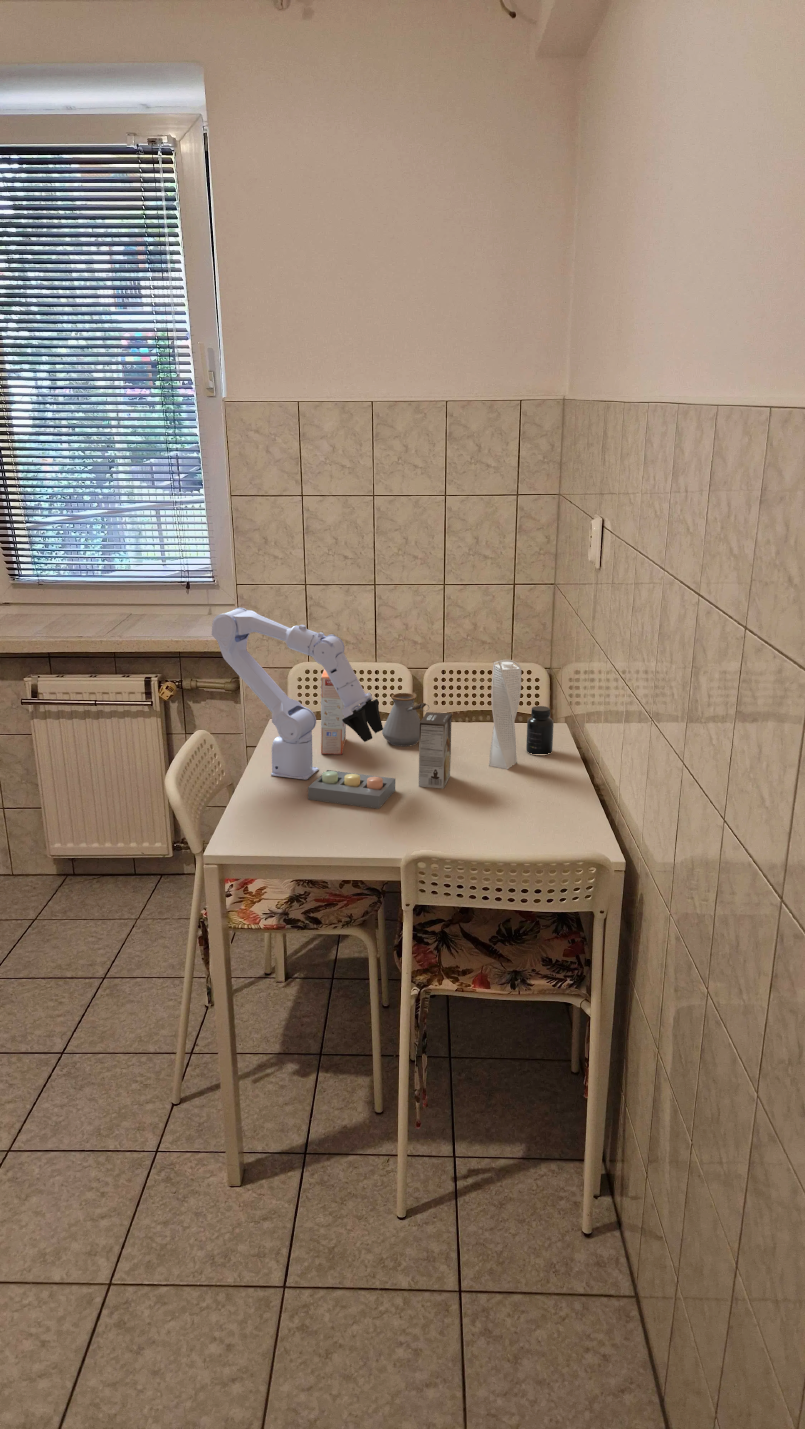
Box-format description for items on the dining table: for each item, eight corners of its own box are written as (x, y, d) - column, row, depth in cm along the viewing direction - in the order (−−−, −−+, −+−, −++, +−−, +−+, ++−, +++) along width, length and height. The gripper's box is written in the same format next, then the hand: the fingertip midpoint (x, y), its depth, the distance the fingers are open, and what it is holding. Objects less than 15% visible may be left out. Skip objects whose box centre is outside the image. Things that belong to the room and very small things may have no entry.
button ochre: (342, 791, 229) (342, 778, 228) (347, 786, 233) (347, 773, 232) (357, 793, 228) (357, 780, 227) (362, 788, 232) (362, 774, 231)
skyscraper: (509, 772, 247) (514, 662, 239) (482, 766, 250) (486, 658, 242) (522, 763, 253) (527, 655, 245) (495, 757, 257) (500, 651, 249)
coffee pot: (376, 737, 271) (376, 684, 267) (415, 733, 275) (416, 681, 271) (403, 762, 252) (404, 706, 248) (445, 758, 256) (446, 702, 252)
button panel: (308, 799, 228) (308, 787, 227) (327, 781, 239) (327, 770, 238) (378, 808, 223) (378, 796, 222) (395, 790, 234) (395, 778, 233)
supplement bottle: (533, 746, 266) (536, 703, 263) (556, 751, 263) (559, 707, 259) (521, 752, 261) (523, 708, 258) (544, 758, 257) (546, 713, 254)
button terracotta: (364, 794, 228) (364, 781, 227) (370, 789, 231) (370, 775, 230) (379, 796, 227) (379, 783, 226) (384, 791, 230) (384, 777, 229)
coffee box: (424, 773, 245) (426, 711, 240) (450, 775, 244) (452, 712, 239) (417, 786, 236) (419, 722, 232) (444, 789, 235) (446, 724, 230)
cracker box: (343, 755, 257) (343, 677, 251) (320, 755, 257) (319, 676, 251) (347, 738, 270) (347, 663, 264) (325, 738, 270) (324, 663, 264)
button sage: (319, 788, 231) (319, 775, 230) (325, 783, 234) (325, 770, 233) (334, 790, 230) (334, 777, 229) (340, 785, 233) (340, 772, 232)
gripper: (349, 684, 225) (377, 737, 226) (371, 670, 238) (397, 720, 239) (324, 697, 227) (352, 749, 229) (347, 682, 241) (373, 732, 242)
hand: (374, 735), depth 234 cm, fingers open, 7 cm apart
